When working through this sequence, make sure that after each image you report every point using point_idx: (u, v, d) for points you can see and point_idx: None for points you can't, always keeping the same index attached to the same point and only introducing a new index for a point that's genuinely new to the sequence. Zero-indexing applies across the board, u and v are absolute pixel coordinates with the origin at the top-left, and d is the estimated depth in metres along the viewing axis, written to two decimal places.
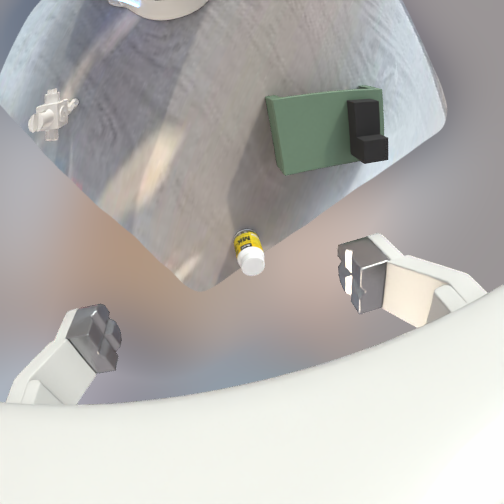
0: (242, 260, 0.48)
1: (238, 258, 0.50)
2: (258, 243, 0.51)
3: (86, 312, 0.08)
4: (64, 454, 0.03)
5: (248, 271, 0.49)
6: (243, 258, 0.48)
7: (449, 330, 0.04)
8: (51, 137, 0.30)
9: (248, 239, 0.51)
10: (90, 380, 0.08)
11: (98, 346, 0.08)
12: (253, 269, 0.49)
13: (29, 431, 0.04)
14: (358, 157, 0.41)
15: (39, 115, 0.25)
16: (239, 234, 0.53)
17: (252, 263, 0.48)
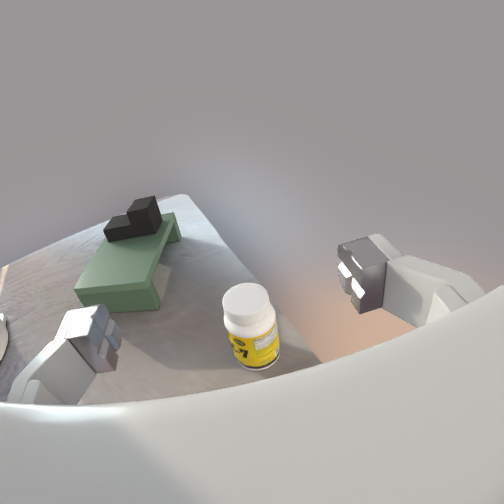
0: (229, 317, 0.24)
1: (239, 333, 0.24)
2: None
3: (86, 312, 0.08)
4: (64, 454, 0.03)
5: (253, 305, 0.24)
6: (227, 316, 0.24)
7: (449, 330, 0.04)
8: None
9: None
10: (90, 380, 0.08)
11: (98, 346, 0.08)
12: (251, 297, 0.25)
13: (29, 431, 0.04)
14: (148, 219, 0.42)
15: None
16: (235, 355, 0.28)
17: (235, 299, 0.25)
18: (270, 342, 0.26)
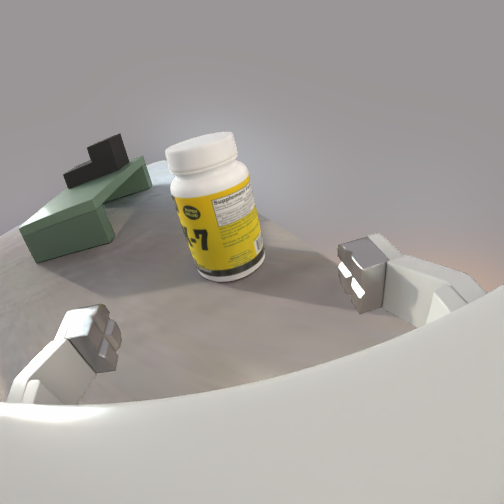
0: (173, 163, 0.15)
1: (189, 190, 0.15)
2: None
3: (86, 312, 0.08)
4: (64, 454, 0.03)
5: (208, 140, 0.15)
6: (171, 166, 0.15)
7: (449, 330, 0.04)
8: None
9: None
10: (90, 380, 0.08)
11: (98, 346, 0.08)
12: (207, 138, 0.15)
13: (29, 431, 0.04)
14: (109, 152, 0.33)
15: None
16: (194, 260, 0.19)
17: (184, 144, 0.16)
18: (243, 215, 0.16)
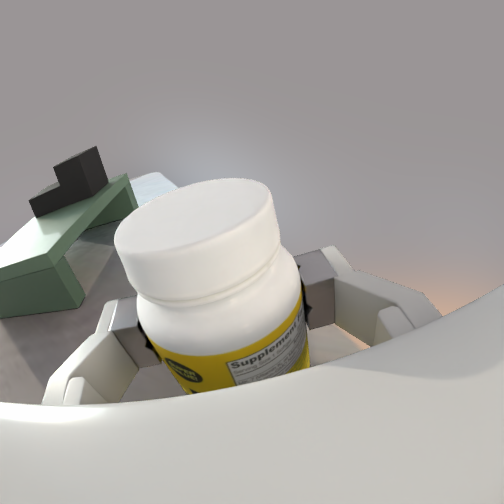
0: (130, 274, 0.06)
1: (173, 338, 0.06)
2: None
3: (130, 302, 0.08)
4: (64, 454, 0.03)
5: (213, 218, 0.06)
6: (128, 275, 0.06)
7: (449, 330, 0.04)
8: None
9: None
10: (133, 375, 0.08)
11: (146, 337, 0.08)
12: (210, 203, 0.07)
13: (29, 431, 0.04)
14: (81, 173, 0.25)
15: None
16: None
17: (157, 215, 0.07)
18: (289, 368, 0.08)
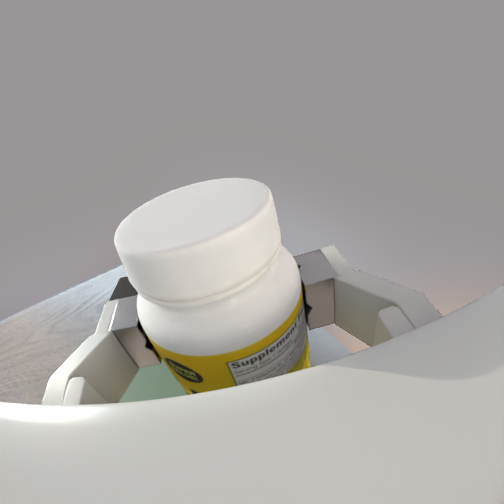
0: (131, 274, 0.06)
1: (173, 338, 0.06)
2: None
3: (130, 302, 0.08)
4: (64, 454, 0.03)
5: (213, 218, 0.06)
6: (128, 275, 0.06)
7: (449, 330, 0.04)
8: None
9: None
10: (132, 375, 0.08)
11: (146, 338, 0.08)
12: (210, 203, 0.07)
13: (29, 431, 0.04)
14: None
15: None
16: None
17: (158, 215, 0.07)
18: (289, 368, 0.08)
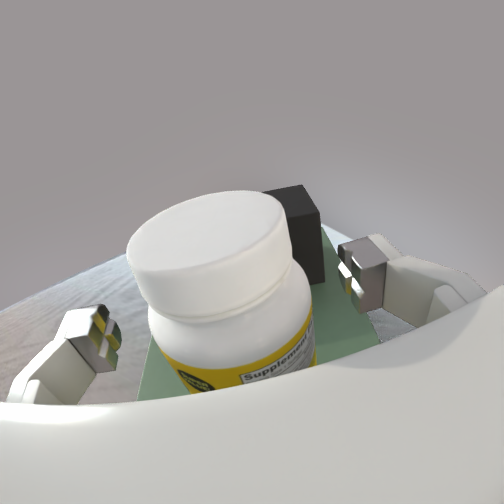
0: (144, 290, 0.06)
1: (187, 352, 0.06)
2: None
3: (86, 312, 0.08)
4: (64, 454, 0.03)
5: (228, 235, 0.06)
6: (141, 291, 0.06)
7: (449, 330, 0.04)
8: None
9: None
10: (90, 380, 0.08)
11: (98, 346, 0.08)
12: (223, 218, 0.07)
13: (29, 431, 0.04)
14: (315, 243, 0.16)
15: None
16: None
17: (170, 229, 0.07)
18: None
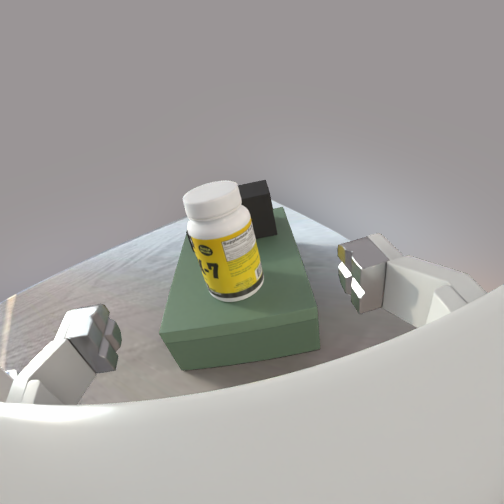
0: (190, 211, 0.19)
1: (203, 233, 0.19)
2: None
3: (86, 312, 0.08)
4: (64, 454, 0.03)
5: (218, 193, 0.19)
6: (188, 213, 0.20)
7: (449, 330, 0.04)
8: None
9: None
10: (90, 380, 0.08)
11: (98, 346, 0.08)
12: (217, 189, 0.20)
13: (29, 431, 0.04)
14: (269, 211, 0.29)
15: None
16: (206, 284, 0.23)
17: (198, 193, 0.20)
18: (246, 252, 0.21)
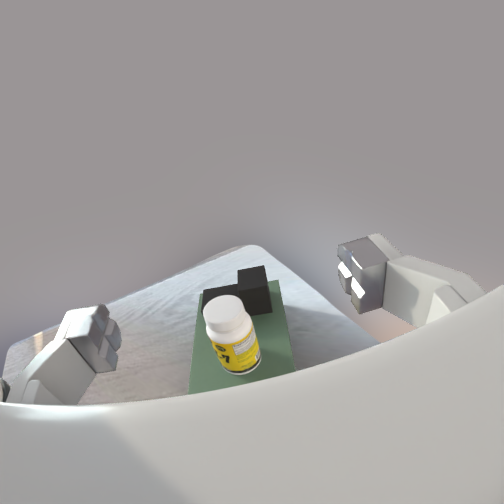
0: (209, 325, 0.27)
1: (219, 339, 0.27)
2: None
3: (86, 312, 0.08)
4: (64, 454, 0.03)
5: (229, 314, 0.27)
6: (208, 325, 0.27)
7: (449, 330, 0.04)
8: None
9: None
10: (90, 380, 0.08)
11: (98, 346, 0.08)
12: (228, 307, 0.28)
13: (29, 431, 0.04)
14: (266, 297, 0.36)
15: None
16: (220, 362, 0.31)
17: (214, 309, 0.28)
18: (249, 348, 0.28)
